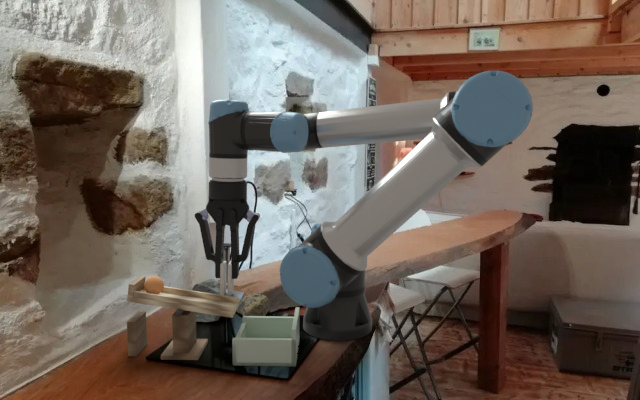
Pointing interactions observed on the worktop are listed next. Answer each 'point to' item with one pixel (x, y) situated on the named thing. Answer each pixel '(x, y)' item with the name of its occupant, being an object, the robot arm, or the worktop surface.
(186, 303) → the lever
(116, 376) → the worktop surface
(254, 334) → the bin
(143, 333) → the fulcrum
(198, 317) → the stone
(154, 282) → the brown egg
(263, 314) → the rock
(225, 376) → the worktop surface
